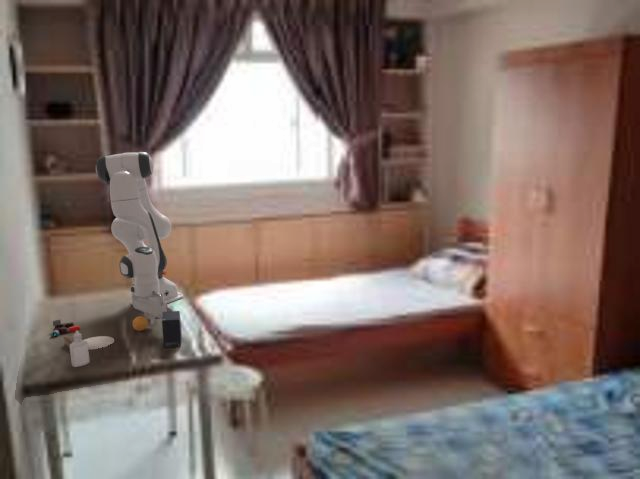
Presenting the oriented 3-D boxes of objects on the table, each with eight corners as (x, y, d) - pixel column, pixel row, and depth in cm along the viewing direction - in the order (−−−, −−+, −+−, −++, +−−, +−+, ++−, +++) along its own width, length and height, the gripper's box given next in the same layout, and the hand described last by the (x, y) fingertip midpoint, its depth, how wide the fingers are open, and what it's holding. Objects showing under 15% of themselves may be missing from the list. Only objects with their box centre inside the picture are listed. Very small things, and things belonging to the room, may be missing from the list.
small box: (182, 346, 224) (179, 318, 222) (163, 348, 223) (160, 320, 221) (182, 336, 234) (180, 309, 232) (164, 338, 233) (162, 311, 231)
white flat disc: (105, 334, 240) (104, 333, 240) (120, 342, 230) (120, 342, 230) (71, 343, 231) (71, 342, 231) (85, 352, 222) (85, 352, 222)
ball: (144, 326, 246) (142, 313, 245) (151, 330, 242) (149, 316, 241) (130, 330, 243) (129, 316, 242) (137, 334, 239) (136, 319, 238)
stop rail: (71, 342, 232) (70, 335, 231) (87, 352, 222) (86, 344, 221) (65, 344, 230) (64, 336, 230) (80, 354, 220) (79, 346, 219)
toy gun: (49, 339, 237) (48, 327, 236) (56, 329, 249) (54, 317, 248) (76, 336, 239) (75, 324, 238) (82, 326, 251) (80, 314, 250)
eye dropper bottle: (89, 365, 210) (85, 331, 208) (71, 368, 208) (67, 333, 206) (90, 360, 214) (86, 327, 212) (72, 363, 212) (68, 329, 210)
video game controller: (158, 313, 268) (150, 300, 266) (168, 306, 270) (159, 294, 267) (164, 319, 260) (155, 306, 257) (174, 313, 261) (165, 299, 258)
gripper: (169, 292, 237) (172, 327, 239) (142, 283, 251) (145, 316, 254) (154, 296, 232) (157, 331, 235) (127, 286, 247) (130, 320, 250)
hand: (150, 323), depth 245 cm, fingers closed
